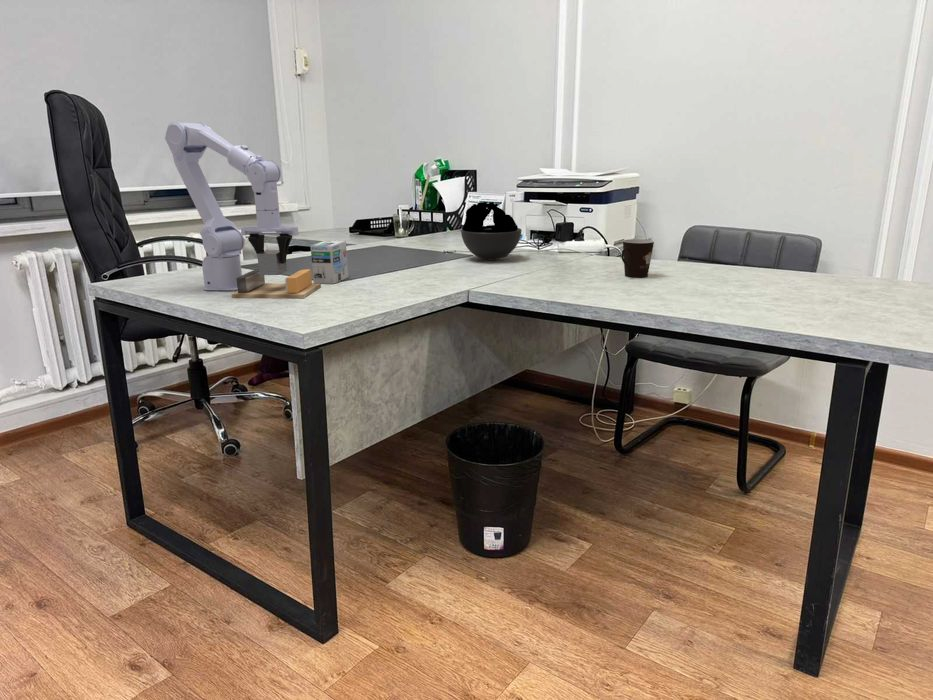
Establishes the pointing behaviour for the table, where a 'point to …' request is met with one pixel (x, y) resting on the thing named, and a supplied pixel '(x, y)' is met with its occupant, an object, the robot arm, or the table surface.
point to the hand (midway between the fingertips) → (272, 263)
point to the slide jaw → (298, 281)
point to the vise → (266, 288)
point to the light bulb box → (329, 262)
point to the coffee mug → (637, 257)
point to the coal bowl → (489, 232)
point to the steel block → (270, 263)
